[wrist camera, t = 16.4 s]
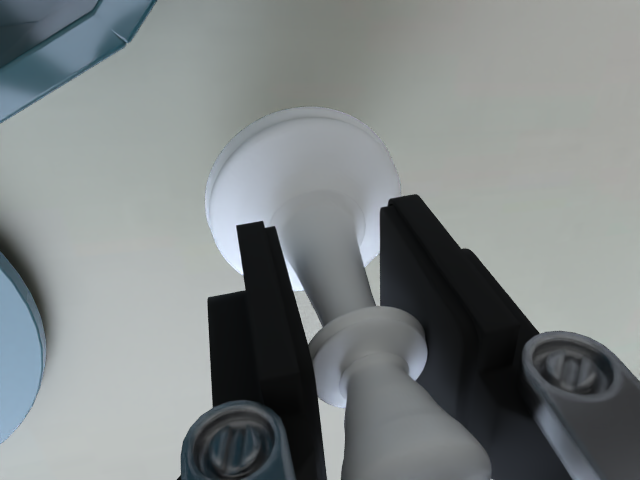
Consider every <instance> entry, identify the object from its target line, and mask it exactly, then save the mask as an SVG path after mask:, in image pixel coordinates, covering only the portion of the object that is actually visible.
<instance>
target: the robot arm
mask: <svg viewBox="0 0 640 480" xmlns="http://www.w3.org/2000/svg"><path fill="white" fill-rule="evenodd" d="M236 229H237V236H238V243H239V249H240V256H241V262H242V269H243V275H244V282H245V289H246V290H245V291H240V292H235V293H229V294H224V295H219V296H214V297H208V323H209V342H210V361H211V381H212V400H213V408H212V409H211V410H209V411H208V412H206V413H205V414H203V415H202V416H200V417H199V419H198V420H197V421H196V422H195V423H194V424H193V425H192V426H191V427H190V429H189V431H188V433H187V435H186V437H185V439H184V441H183V445H182V451H181V476H180V477H179V478H178V479H177V480H327V476H326V467H325V458H324V449H323V441H322V432H321V423H320V414H319V405H318V397H317V388H316V380H315V374H314V368H313V363H312V359H311V355H310V351H309V347H308V343H307V340H306V336H305V332H304V329H303V325H302V322H301V318H300V314H299V311H298V307H297V303H296V300H295V296H294V292H293V289H292V285H291V281H290V278H289V274H288V271H287V267H286V263H285V260H284V256H283V252H282V249H281V245H280V241H279V238H278V234H277V230H276V227H275V226H272V227H266V228H265V226H264V222H263V221H258V222H252V223H247V224H241V225H236ZM380 306H387V307H393V308H397V309H401V310H403V311H405V312H407V313H409V314H411V315H412V316H414V317H415V318H416V319H417V320H418V321H419V322H420V324H421V325H422V327H423V329H424V331H425V341H426V344H427V349H428V355H427V361H426V364H425V366H424V369H423V371H422V372H421V374H420V375H419V377H418V378H417V379H416V382H417V383H418V384H419V385H421V386H422V387H423V388H424V389H425V390H426V391H427V392H428V393H429V394H430V396H431V397H432V398H433V399H434V401H435V402H436V403H437V404H438V405H439V406H440V407H441V408H442V409H443V410H445V411H446V412H447V413H448V414H449V415H450V416H451V417H452V418H454V419H455V420H457V421H458V422H459V423H461V424H462V425H463V426H464V427H465V428H466V429H467V430H468V431H469V432H470V433H471V434H472V435H473V436H474V437H475V438H476V439H477V441H478V442H479V443H480V444H481V445H482V447H483V448H484V449H485V451H486V452H487V454H488V456H489V459H490V462H491V468H492V472H491V479H493V480H640V381H639V380H638V379H637V378H636V377H635V376H634V375H633V374H632V373H631V371H630V370H629V369H628V368H627V367H626V366H625V365H624V364H623V363H622V362H621V361H620V359H619V358H618V357H617V356H616V355H615V354H614V353H612V352H611V351H610V350H609V349H608V348H607V347H605V346H604V345H602V344H601V343H599V342H597V341H595V340H593V339H591V338H589V337H586V336H583V335H580V334H577V333H573V332H565V331H551V332H544V333H541V334H540V333H539V332H538V331H537V330H536V328H535V327H534V326H533V325H532V324H531V322H530V321H529V320H528V319H527V317H526V316H525V315H524V314H523V313H522V311H521V310H520V309H519V308H518V306H517V305H516V304H515V303H514V302H513V300H512V299H511V298H510V297H509V295H508V294H507V293H506V292H505V291H504V289H503V288H502V287H501V286H500V284H499V283H498V282H497V281H496V280H495V278H494V277H493V276H492V275H491V273H490V272H489V271H488V270H487V269H486V267H485V266H484V265H483V264H482V263H481V261H480V260H479V259H478V258H477V256H476V255H475V254H474V253H473V252H472V251H471V250H469V249H466V248H465V249H461V248H460V247H459V246H458V244H457V243H456V242H455V241H454V239H453V238H452V237H451V236H450V234H449V233H448V232H447V231H446V229H445V228H444V227H443V225H442V224H441V223H440V222H439V220H438V219H437V218H436V217H435V215H434V214H433V213H432V212H431V210H430V209H429V208H428V207H427V205H426V204H425V203H424V202H423V200H422V199H421V198H420V196H418V195H417V194H414V195H408V196H402V197H396V198H391V199H389V201H388V206H386V207H381V208H380Z"/></svg>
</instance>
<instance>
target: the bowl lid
mask: <svg viewBox="0 0 640 480" xmlns="http://www.w3.org/2000/svg"><path fill="white" fill-rule="evenodd" d="M45 362H46V337H45V333H44V328H43V323H42V319H41V316H40V313H39V311H38V309H37V306H36V304H35V301H34V299H33V296H32V294H31V293H30V291H29V289H28V288H27V286H26V285H25V283H24V281H23V280H22V278H21V276H20V275H19V273H18V272H17V271H16V269H15V268H14V267H13V266H12V265H11V263H10V262H9V261H8V260H7V258H6V257H5V256H4V255H3V254H2V252H1V251H0V444H1V443H2V442H4V441H5V440H6V439H7V438H8V437H9V436H10V435H11V434H12V433H13V432H14V431H15V430H16V428H17V427H18V426H19V425H20V424H21V423H22V422H23V420H24V419H25V417H26V415H27V414H28V412H29V411H30V409H31V408H32V406H33V404H34V401H35V399H36V396H37V394H38V391H39V389H40V386H41V382H42V378H43V373H44V368H45Z"/></svg>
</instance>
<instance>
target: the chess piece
mask: <svg viewBox="0 0 640 480" xmlns="http://www.w3.org/2000/svg"><path fill="white" fill-rule="evenodd" d="M396 197H401V185H400V180H399V175H398V172H397V169H396V167H395V164H394V162H393V160H392V157H391V155H390V153H389V151H388V149H387V147H386V146H385V144H384V143H383V141H382V140H381V138H380V137H379V136H378V135H377V134H376V133H375V132H374V131H373V130H372V129H371V128H370V127H369V126H367V125H366V124H365V123H363V122H362V121H360V120H359V119H357V118H355V117H353V116H351V115H349V114H346V113H344V112H341V111H338V110H334V109H330V108H324V107H296V108H290V109H285V110H281V111H278V112H274V113H272V114H269V115H267V116H264V117H262V118H260V119H258V120H256V121H255V122H253V123H251V124H250V125H248V126H247V127H245V128H244V129H243V130H241V131H240V132H239V133H238V134H237V135H236V136H235V137H234V138H233V139H232V140H231V141H230V142H229V143H228V144H227V145H226V146H225V148H224V149H223V150H222V151H221V153H220V154H219V156H218V158H217V159H216V161H215V163H214V165H213V167H212V169H211V172H210V175H209V178H208V181H207V186H206V192H205V211H206V217H207V221H208V225H209V228H210V230H211V232H212V236H213V238H214V241H215V243H216V245H217V247H218V249H219V251H220V253H221V254H222V255H223V257H224V258H225V259H226V261H227V262H228V263H229V264H230V265H231V266H232V267H233V268H234V269H235V270H236V271H238V272H239V273H240V274H242V275H243V269H242V262H241V256H240V249H239V243H238V236H237V229H236V225H241V224H247V223H252V222H258V221H263V222H264V226H265V228H266V227H272V226H275V227H276V230H277V234H278V238H279V241H280V245H281V249H282V252H283V256H284V260H285V263H286V267H287V271H288V274H289V278H290V281H291V285H292V289H293V291H303V290H305V292H306V294H307V296H308V298H309V300H310V302H311V304H312V306H313V308H314V310H315V311H316V313H317V315H318V318H319V320H320V322H321V324H322V326H323V328H322V329H321V330H320V331H318V333H317V334H316V335H315V336H314V337H313V339H312V340H311V341H310V343H309V345H308V347H309V351H310V355H311V359H312V363H313V368H314V374H315V380H316V388H317V396H318V397H319V398H320V399H321V400H323V401H324V402H326V403H328V404H330V405H333V406H336V407H340V408H346V411H345V420H344V428H345V449H344V460H343V465H342V472H341V480H490V479H491V472H492V468H491V462H490V459H489V456H488V454H487V452H486V451H485V449H484V448H483V447H482V445H481V444H480V443H479V442H478V441H477V439H476V438H475V437H474V436H473V435H472V434H471V433H470V432H469V431H468V430H467V429H466V428H465V427H464V426H463V425H462V424H461V423H459V422H458V421H457V420H455V419H454V418H452V417H451V416H450V415H449V414H448V413H447V412H446V411H445V410H443V409H442V408H441V407H440V406H439V405H438V404H437V403H436V402H435V401H434V399H433V398H432V397H431V396H430V394H429V393H428V392H427V391H426V390H425V389H424V388H423V387H422V386H421V385H419V384H418V383H417V382H416V379H417V378H418V377H419V375H420V374H421V372H422V371H423V369H424V366H425V364H426V361H427V355H428V349H427V344H426V341H425V331H424V329H423V327H422V325H421V324H420V322H419V321H418V320H417V319H416V318H415V317H414V316H412V315H411V314H409V313H407V312H405V311H403V310H401V309H397V308H393V307H387V306H376V304H375V301H374V298H373V296H372V293H371V289H370V286H369V282H368V278H367V275H366V271H365V268H364V267H365V266H366V265H367V264H368V263H370V262H371V261H372V260H373V259H374V258H375V257H376V256H377V255H378V253H379V252H380V208H381V207H386V206H388V201H389V199H391V198H396ZM243 276H244V275H243Z"/></svg>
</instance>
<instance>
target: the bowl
mask: <svg viewBox="0 0 640 480" xmlns="http://www.w3.org/2000/svg"><path fill="white" fill-rule="evenodd" d="M156 2H157V0H0V123H2V122H4V121H6V120H7V119H9V118H11V117H12V116H14V115H16V114H17V113H19V112H20V111H22V110H24V109H25V108H27V107H29V106H30V105H32V104H33V103H35V102H37V101H38V100H40V99H42V98H43V97H45V96H46V95H48V94H50V93H51V92H53V91H55V90H56V89H58V88H59V87H61V86H63V85H64V84H66V83H68V82H69V81H71V80H72V79H74V78H76V77H77V76H79V75H81V74H82V73H84V72H85V71H87V70H89V69H90V68H92V67H94V66H95V65H97V64H99V63H100V62H102V61H103V60H105V59H107V58H108V57H110V56H112V55H113V54H115V53H116V52H118V51H120V50H121V49H123V48H124V47H125V46H126V44H127V43H129V42H131V41H132V39H133V38H134V36H135V35H136V33H137V31H138V30H139V28H140V27H141V25H142V24H143V22H144V21H145V19H146V17H147V16H148V14H149V13H150V11H151V10H152V8H153V6H154V5H155V3H156Z"/></svg>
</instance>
